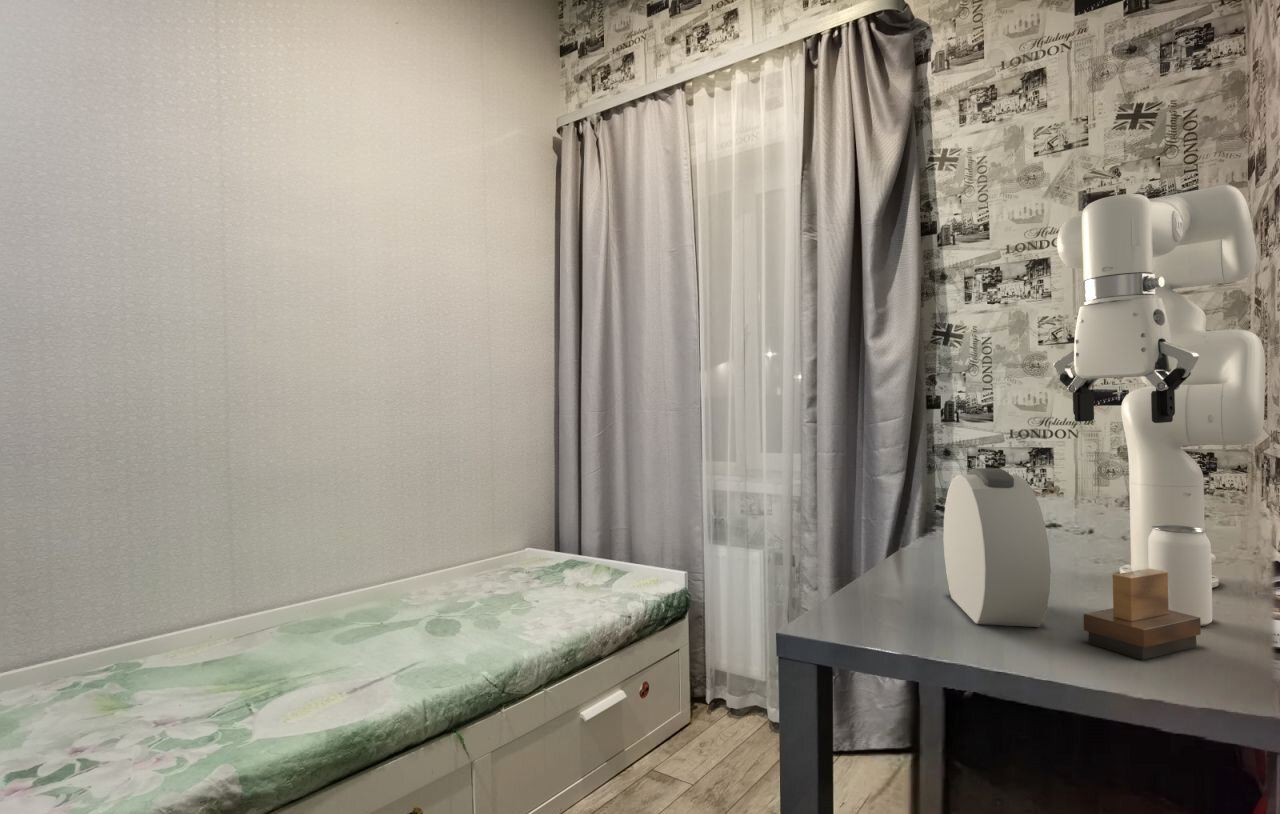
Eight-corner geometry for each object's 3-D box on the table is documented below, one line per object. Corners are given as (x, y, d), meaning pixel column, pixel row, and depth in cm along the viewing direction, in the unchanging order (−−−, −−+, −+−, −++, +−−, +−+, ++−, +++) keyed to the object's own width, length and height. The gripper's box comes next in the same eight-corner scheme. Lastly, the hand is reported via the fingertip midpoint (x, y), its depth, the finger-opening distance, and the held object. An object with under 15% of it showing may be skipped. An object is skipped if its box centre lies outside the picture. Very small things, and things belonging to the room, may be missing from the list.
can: (1153, 608, 92) (1152, 522, 92) (1215, 618, 88) (1213, 527, 88) (1145, 619, 88) (1143, 528, 88) (1209, 630, 83) (1207, 534, 83)
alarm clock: (1052, 637, 81) (1049, 475, 81) (986, 634, 83) (983, 475, 83) (995, 591, 102) (993, 462, 102) (943, 589, 103) (941, 462, 104)
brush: (1139, 630, 83) (1138, 563, 83) (1201, 647, 77) (1199, 574, 77) (1084, 642, 79) (1082, 571, 79) (1144, 661, 73) (1142, 584, 73)
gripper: (1212, 281, 81) (1215, 421, 81) (1071, 302, 97) (1074, 419, 97) (1175, 279, 78) (1179, 424, 78) (1036, 301, 94) (1040, 422, 94)
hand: (1121, 421), depth 88 cm, fingers open, 9 cm apart
